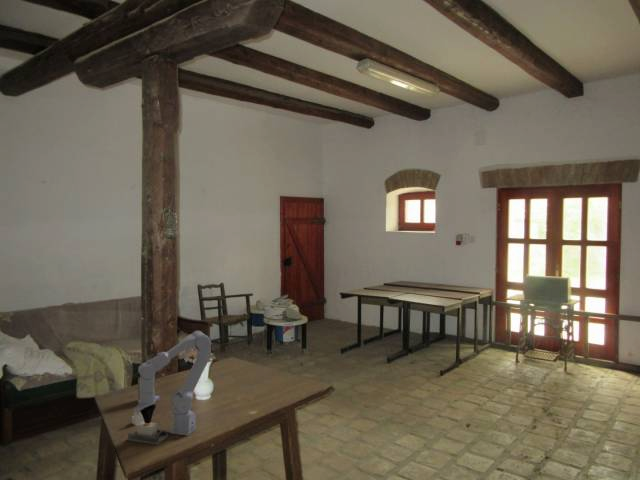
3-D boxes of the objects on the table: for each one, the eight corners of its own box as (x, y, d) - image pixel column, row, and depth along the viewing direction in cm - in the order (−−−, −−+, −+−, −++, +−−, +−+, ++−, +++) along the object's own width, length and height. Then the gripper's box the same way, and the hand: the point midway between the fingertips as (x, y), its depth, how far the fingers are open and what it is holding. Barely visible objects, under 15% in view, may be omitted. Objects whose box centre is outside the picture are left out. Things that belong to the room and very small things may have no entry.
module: (157, 434, 204) (156, 423, 204) (151, 439, 201) (151, 427, 200) (142, 432, 206) (142, 421, 206) (137, 436, 202) (136, 425, 202)
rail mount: (168, 436, 205) (168, 430, 205) (157, 444, 198) (157, 438, 198) (138, 432, 209) (138, 426, 209) (127, 439, 202) (127, 434, 202)
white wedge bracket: (156, 413, 223) (147, 400, 219) (139, 429, 217) (129, 416, 213) (151, 410, 225) (143, 398, 222) (134, 427, 219) (125, 414, 215)
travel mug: (134, 402, 242) (134, 367, 240) (147, 396, 249) (146, 363, 248) (146, 405, 238) (145, 370, 237) (158, 399, 245) (157, 365, 244)
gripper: (149, 384, 210) (150, 414, 211) (127, 396, 196) (128, 428, 197) (163, 386, 208) (163, 416, 209) (142, 398, 194) (143, 431, 195)
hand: (147, 422), depth 203 cm, fingers closed
